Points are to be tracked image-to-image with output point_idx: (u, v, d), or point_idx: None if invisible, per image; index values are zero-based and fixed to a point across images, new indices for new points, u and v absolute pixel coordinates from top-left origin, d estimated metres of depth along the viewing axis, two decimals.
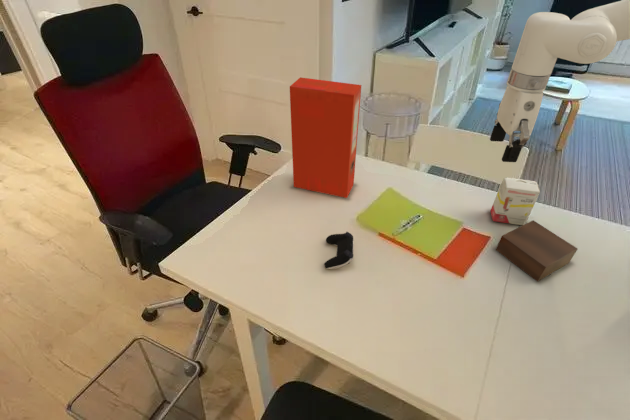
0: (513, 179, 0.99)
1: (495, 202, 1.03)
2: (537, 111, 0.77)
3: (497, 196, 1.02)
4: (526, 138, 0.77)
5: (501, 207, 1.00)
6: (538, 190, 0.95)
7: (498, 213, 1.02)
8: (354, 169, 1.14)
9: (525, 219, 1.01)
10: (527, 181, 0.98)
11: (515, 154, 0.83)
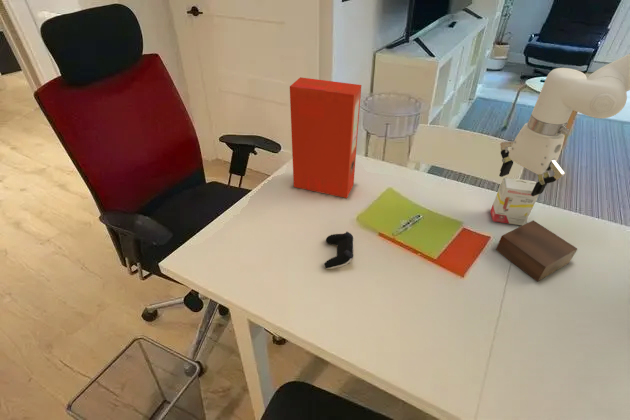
0: (512, 180, 0.99)
1: (495, 202, 1.03)
2: (560, 150, 0.87)
3: (497, 196, 1.02)
4: (562, 176, 0.87)
5: (501, 207, 1.00)
6: None
7: (498, 213, 1.02)
8: (354, 169, 1.14)
9: (525, 219, 1.01)
10: (527, 181, 0.98)
11: (544, 188, 0.92)
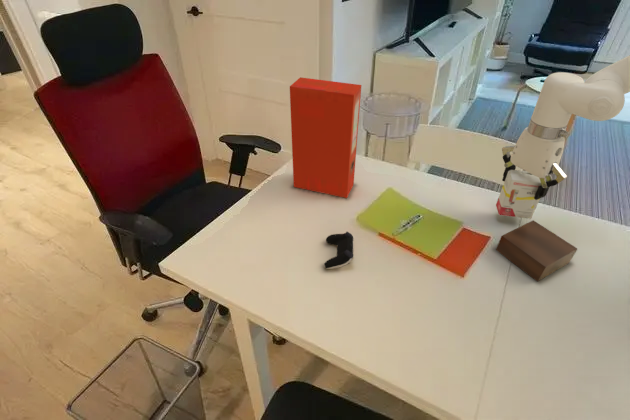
0: (518, 172, 0.97)
1: (501, 195, 1.01)
2: None
3: (502, 189, 1.01)
4: (564, 179, 0.87)
5: (507, 200, 0.98)
6: None
7: (504, 206, 1.00)
8: (354, 169, 1.14)
9: (532, 212, 0.99)
10: None
11: (546, 191, 0.93)
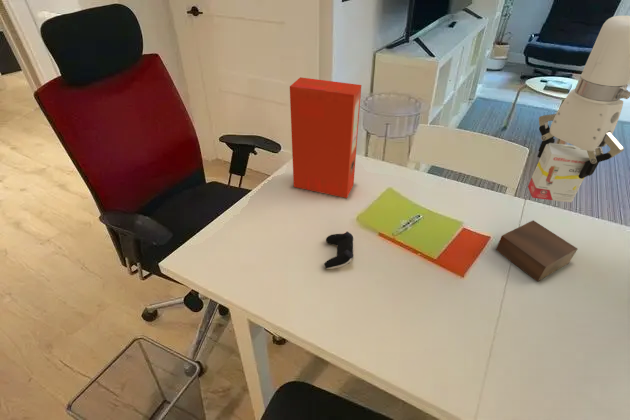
0: (558, 145, 0.81)
1: (535, 175, 0.85)
2: (617, 120, 0.72)
3: (538, 167, 0.84)
4: (620, 151, 0.71)
5: (543, 179, 0.82)
6: None
7: (540, 187, 0.84)
8: (354, 169, 1.14)
9: (573, 194, 0.83)
10: (576, 147, 0.80)
11: (595, 168, 0.76)
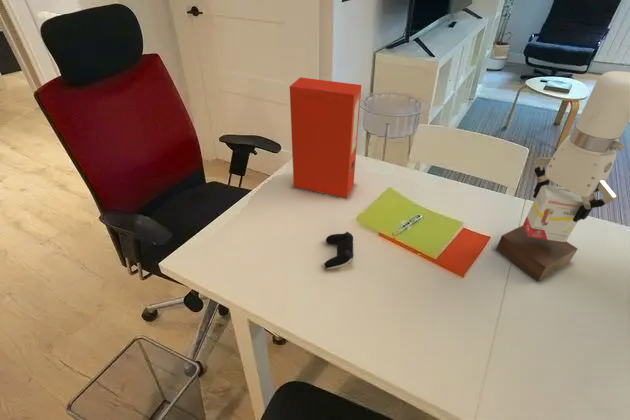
0: (553, 188, 0.82)
1: (530, 214, 0.87)
2: None
3: (533, 207, 0.86)
4: (614, 199, 0.73)
5: (539, 220, 0.84)
6: None
7: (535, 228, 0.85)
8: (354, 169, 1.14)
9: (567, 235, 0.84)
10: None
11: (588, 212, 0.78)
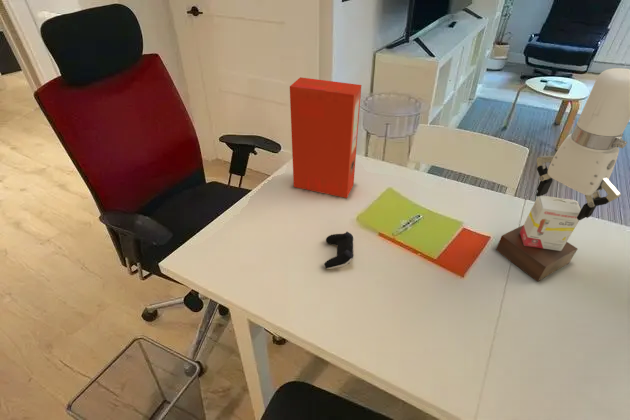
0: (549, 198, 0.84)
1: (527, 224, 0.88)
2: None
3: (529, 217, 0.88)
4: None
5: (535, 230, 0.86)
6: None
7: (531, 237, 0.87)
8: (354, 169, 1.14)
9: (562, 244, 0.86)
10: (566, 200, 0.84)
11: (593, 210, 0.78)
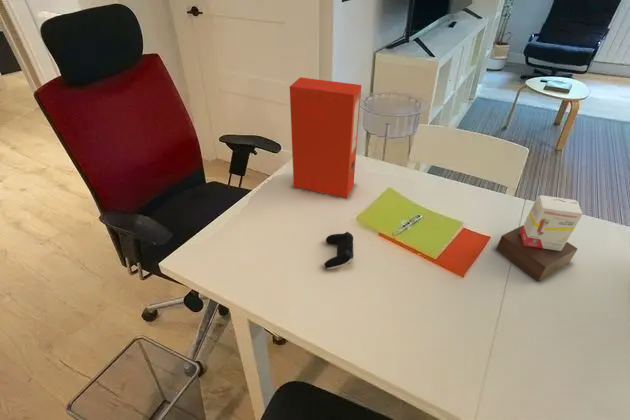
0: (549, 198, 0.84)
1: (527, 224, 0.89)
2: None
3: (529, 217, 0.88)
4: None
5: (534, 229, 0.86)
6: (580, 211, 0.81)
7: (531, 237, 0.87)
8: (354, 169, 1.14)
9: (562, 244, 0.86)
10: (566, 200, 0.84)
11: None
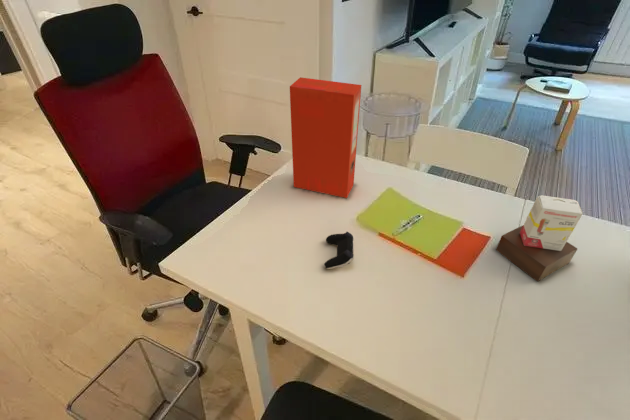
0: (549, 198, 0.84)
1: (527, 224, 0.89)
2: None
3: (529, 217, 0.88)
4: None
5: (534, 229, 0.86)
6: (580, 211, 0.81)
7: (531, 237, 0.87)
8: (354, 169, 1.14)
9: (562, 244, 0.86)
10: (566, 200, 0.84)
11: None
